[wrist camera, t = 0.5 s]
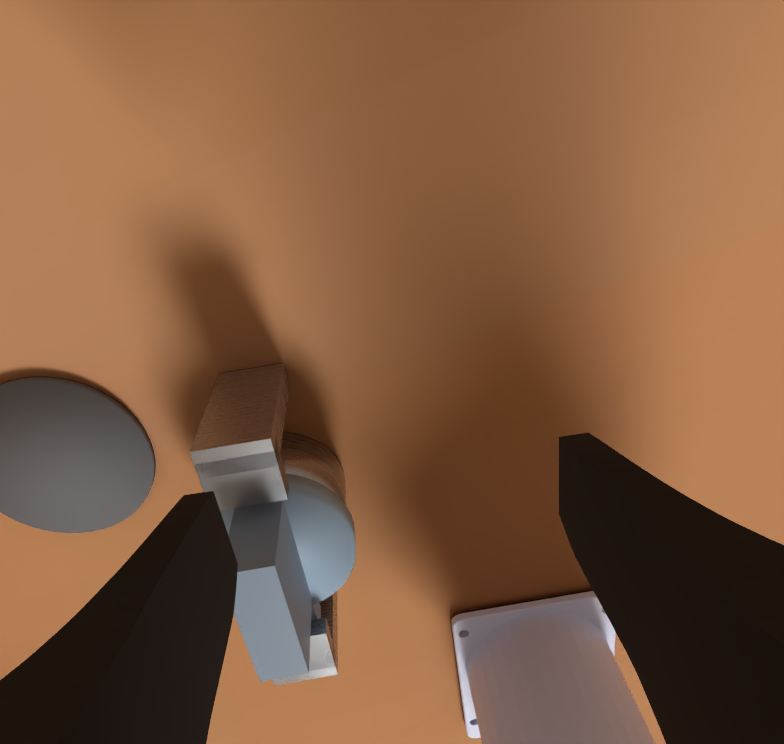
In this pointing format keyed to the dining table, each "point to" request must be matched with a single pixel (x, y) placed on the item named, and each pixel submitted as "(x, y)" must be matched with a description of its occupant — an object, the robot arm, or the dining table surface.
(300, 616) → the cap
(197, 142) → the dining table surface
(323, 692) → the dining table surface
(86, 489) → the pad
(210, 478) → the metal ball with blocks
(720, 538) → the robot arm
